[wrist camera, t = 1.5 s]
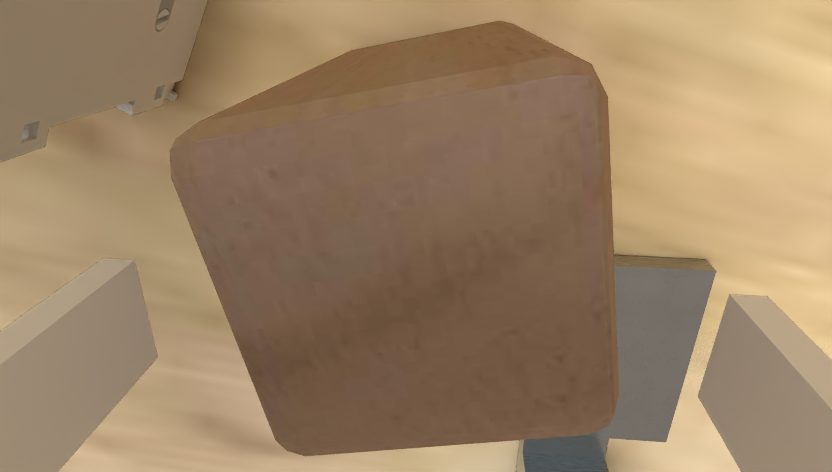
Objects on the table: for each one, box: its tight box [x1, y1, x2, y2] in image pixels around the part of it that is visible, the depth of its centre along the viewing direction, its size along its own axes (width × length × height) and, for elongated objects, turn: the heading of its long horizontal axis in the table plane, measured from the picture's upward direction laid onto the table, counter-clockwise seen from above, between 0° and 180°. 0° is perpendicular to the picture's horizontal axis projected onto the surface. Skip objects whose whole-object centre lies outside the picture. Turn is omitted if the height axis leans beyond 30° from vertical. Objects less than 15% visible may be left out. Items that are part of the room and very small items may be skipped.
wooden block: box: [170, 21, 619, 456], centre depth 21 cm, size 10×10×20 cm
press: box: [516, 255, 716, 472], centre depth 32 cm, size 14×22×12 cm, turn 179°
